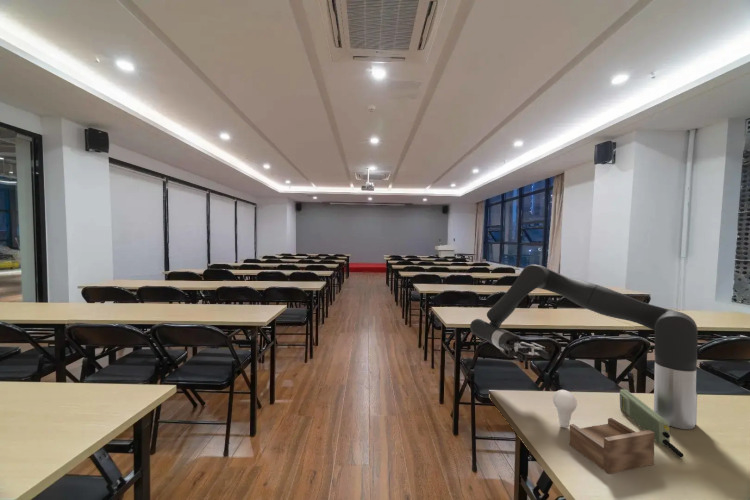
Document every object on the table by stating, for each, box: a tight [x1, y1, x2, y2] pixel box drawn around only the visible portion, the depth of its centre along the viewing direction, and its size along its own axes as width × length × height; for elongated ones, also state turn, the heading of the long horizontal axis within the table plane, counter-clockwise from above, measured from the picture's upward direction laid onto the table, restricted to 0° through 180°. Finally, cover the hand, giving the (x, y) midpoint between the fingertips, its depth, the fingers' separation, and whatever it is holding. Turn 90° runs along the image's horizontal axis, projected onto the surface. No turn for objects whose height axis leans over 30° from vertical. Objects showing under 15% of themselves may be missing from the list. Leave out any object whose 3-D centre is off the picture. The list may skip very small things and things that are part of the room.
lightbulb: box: [552, 389, 578, 429], centre depth 94 cm, size 6×6×11 cm
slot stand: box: [569, 417, 655, 475], centre depth 83 cm, size 14×11×8 cm
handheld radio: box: [619, 389, 685, 459], centre depth 93 cm, size 7×3×25 cm
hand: (537, 357), depth 105 cm, fingers open, 8 cm apart
